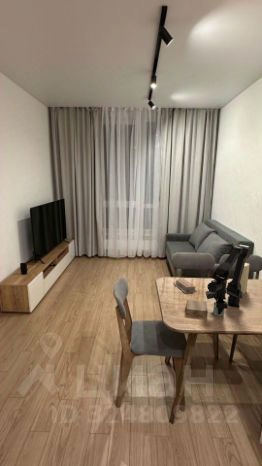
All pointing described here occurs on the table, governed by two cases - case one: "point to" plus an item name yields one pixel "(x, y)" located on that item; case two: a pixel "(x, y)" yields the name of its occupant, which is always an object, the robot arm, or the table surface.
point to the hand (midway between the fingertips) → (218, 311)
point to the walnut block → (196, 308)
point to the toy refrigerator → (244, 278)
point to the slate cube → (217, 311)
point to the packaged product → (185, 286)
